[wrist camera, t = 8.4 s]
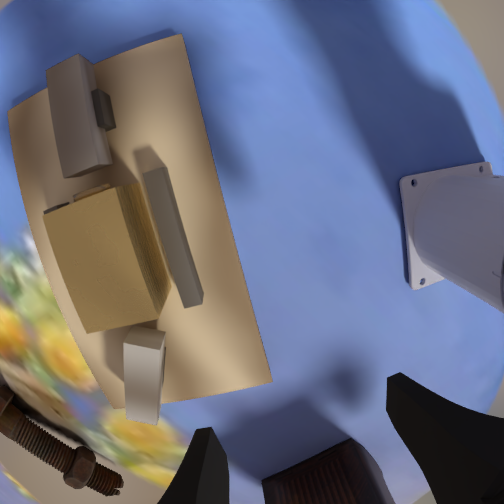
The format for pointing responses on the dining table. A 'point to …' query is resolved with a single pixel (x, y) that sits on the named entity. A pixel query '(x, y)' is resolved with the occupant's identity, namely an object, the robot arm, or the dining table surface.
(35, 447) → the bolt
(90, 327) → the block
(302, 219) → the dining table surface
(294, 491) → the brown manual coffee grinder
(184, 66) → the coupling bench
